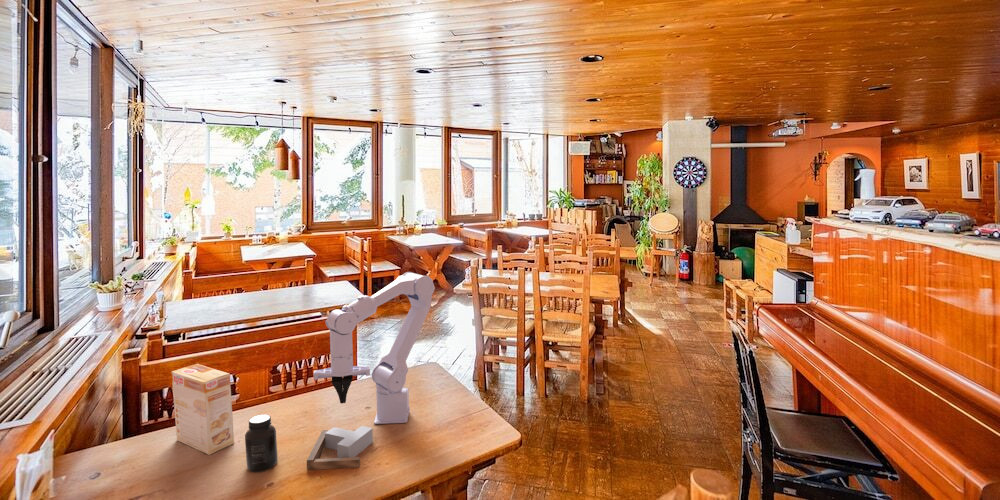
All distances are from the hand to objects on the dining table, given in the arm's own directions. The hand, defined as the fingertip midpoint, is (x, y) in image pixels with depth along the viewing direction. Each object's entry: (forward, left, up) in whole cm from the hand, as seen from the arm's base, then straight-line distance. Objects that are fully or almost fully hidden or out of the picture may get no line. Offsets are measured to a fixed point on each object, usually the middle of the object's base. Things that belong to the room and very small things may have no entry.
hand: (343, 401), depth 131 cm
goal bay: (-1, +9, -9) cm, 13 cm away
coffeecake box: (+36, +1, -10) cm, 37 cm away
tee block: (-2, +7, -10) cm, 12 cm away
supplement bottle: (+17, +13, -10) cm, 23 cm away
